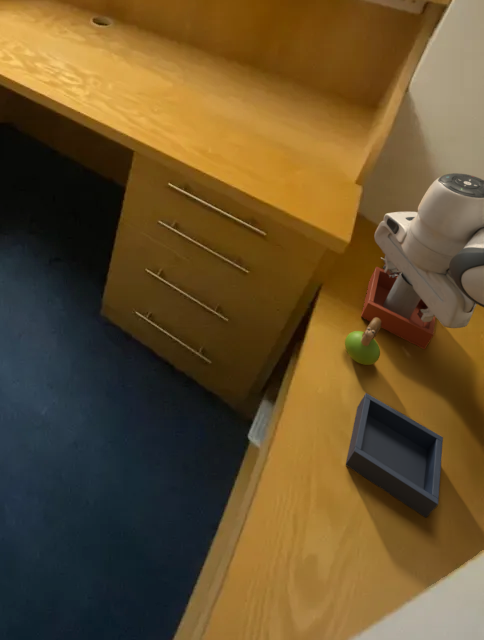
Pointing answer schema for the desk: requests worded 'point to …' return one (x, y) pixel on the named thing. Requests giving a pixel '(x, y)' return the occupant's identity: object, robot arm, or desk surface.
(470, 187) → the robot arm
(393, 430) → the slate bin
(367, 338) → the snail figurine
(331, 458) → the desk surface
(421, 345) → the terracotta bin
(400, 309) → the grey cylindrical cup
